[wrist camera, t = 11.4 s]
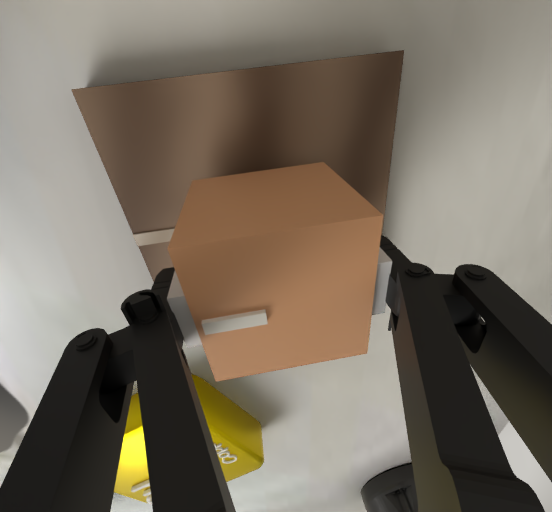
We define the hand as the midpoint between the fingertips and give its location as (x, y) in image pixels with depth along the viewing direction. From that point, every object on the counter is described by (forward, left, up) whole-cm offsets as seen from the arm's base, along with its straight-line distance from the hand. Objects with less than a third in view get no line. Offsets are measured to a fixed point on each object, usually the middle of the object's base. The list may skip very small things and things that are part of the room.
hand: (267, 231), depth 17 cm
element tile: (+4, +27, -4) cm, 28 cm away
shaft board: (0, 0, -3) cm, 3 cm away
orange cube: (0, 0, 0) cm, 0 cm away
